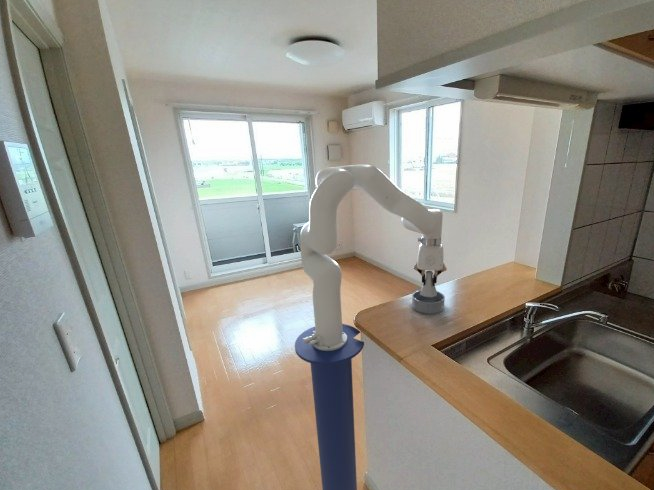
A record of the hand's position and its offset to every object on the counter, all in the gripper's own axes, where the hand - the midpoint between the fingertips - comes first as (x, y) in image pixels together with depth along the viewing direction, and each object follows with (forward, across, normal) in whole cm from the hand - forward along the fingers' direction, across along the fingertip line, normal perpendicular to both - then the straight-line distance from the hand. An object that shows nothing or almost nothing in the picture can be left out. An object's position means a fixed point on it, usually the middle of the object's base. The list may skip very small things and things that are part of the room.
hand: (428, 283), depth 129 cm
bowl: (+11, 0, 0) cm, 11 cm away
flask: (+5, 0, 0) cm, 5 cm away
